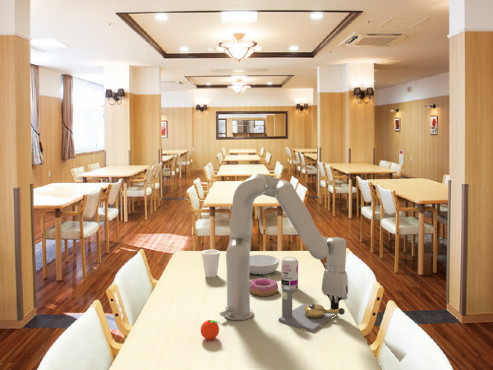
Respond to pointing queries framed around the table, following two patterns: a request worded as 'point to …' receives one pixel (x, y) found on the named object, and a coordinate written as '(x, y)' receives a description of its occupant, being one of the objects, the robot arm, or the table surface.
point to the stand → (299, 313)
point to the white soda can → (289, 273)
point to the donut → (263, 287)
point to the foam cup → (210, 262)
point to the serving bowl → (263, 264)
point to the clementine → (210, 329)
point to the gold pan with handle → (319, 311)
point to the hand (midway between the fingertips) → (334, 310)
